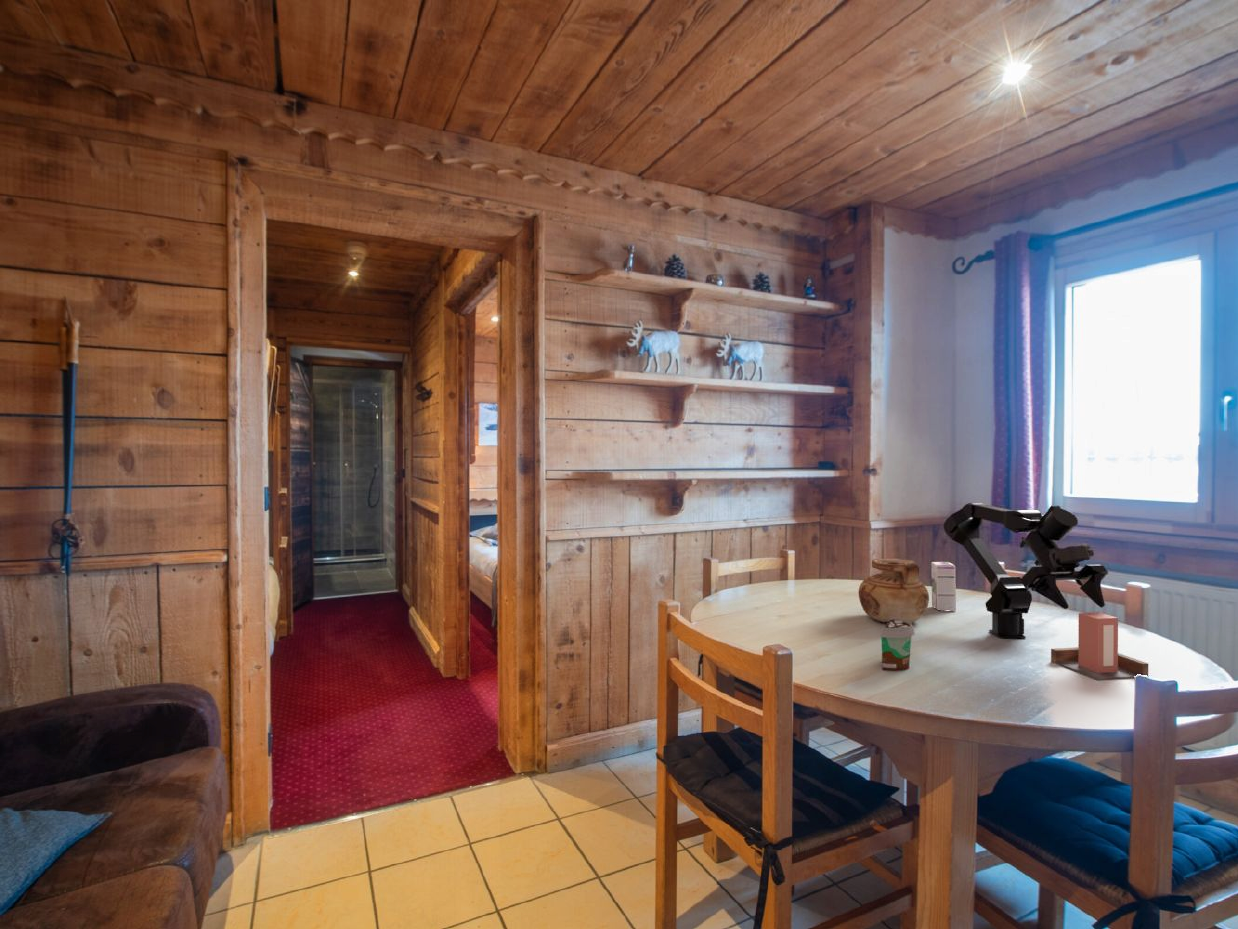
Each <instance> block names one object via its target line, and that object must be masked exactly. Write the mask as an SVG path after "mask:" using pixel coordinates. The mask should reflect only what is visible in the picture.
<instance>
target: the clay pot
mask: <svg viewBox="0 0 1238 929" xmlns="http://www.w3.org/2000/svg"><path fill="white" fill-rule="evenodd" d="M871 567H872V568H873V569H876V570H879V571H882V572H881V573H875V574H873V575H869V576H868V577H866V578H864V580H862V582H861V583H860V585H859V587H858V599H859V602H860V605H861V607H862V610H863V611H864V613H865V614H866V615H867V616H868V617H869V618H871V619H873V620H875V621H877V620H878V621H877V622H880V621H881V622H880V623H884V622H886V624H887V623H889V621H890V616H891V617H898V618H902V619H905V620H908V621H910V622H911V623H912V624H913V623H914V622H916V621H918V620H919V619H921V618H922V617H923V616H924V615H925V612H926V610H927V609H928V606H929V602H930V593H929V592H928V589H927V586H926V585H925V584H924V583H923V582H922V581H921V580H920V579H919V574H920V567H919V565H918V564H917V563H916V561H914V560H912V559H911V560H910V559H906V558H905V559H904V558H888V557H887V558H884V557H883V558H875V559H872V560H871Z"/></svg>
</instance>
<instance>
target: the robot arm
mask: <svg viewBox="0 0 1238 929" xmlns="http://www.w3.org/2000/svg"><path fill="white" fill-rule="evenodd" d="M983 521H989V522H992V523H995V524H1001V525H1002V526H1003V527H1004V528H1005V529H1006V530H1008V531H1010V532H1013V533H1015V534H1021V533H1022V534H1027V535H1026V536H1022V537H1021V541H1020V542H1019V547H1020V548H1021V549H1022V548H1023V549H1026V548H1027V549H1028V548H1029V550H1030V551H1031V553H1032V554H1033V556H1034V558H1035V559H1036V560H1035V561H1034V565H1035V566H1031V567H1030V568H1029V569H1028V570H1027V571H1026V572H1025V573H1024V574H1023V576H1010V575H1009V574H1008V573H1007V572H1006V570H1005V569H1004V567H1003V566H1002V565H1001V564H1000V563H999V561H998V560H997V558H996V557H995V556H994V555H993V553H992V552H991V551H990V548H989V547H987V545H986V544H985V542H984V541H983V540H982V538H981V529H980V527H981V526H982V525H983ZM1078 524H1079V521H1078V518H1077V516H1076V515H1075V514H1073V513H1071V512H1070V511H1068V510H1066V509H1064V508H1061V506H1060V505H1051V506H1050V507H1049V508H1048V509H1047V511H1046V512H1045V514H1042V512H1041V511H1039V510H1035V509H1034V510H1032V509H1031V510H1030V509H1029V510H1028V509H1027V510H1024V509H1023V510H1021V509H1019V510H1018V509H1017V510H1016V509H1015V510H1012V509H1007V508H1002V507H998V506H994V505H989V504H985V503H982V502H968V503H966V504H965V505H964V506H963V507H962V508H961V509H959V510H956V512H954V513H952V514H950V515H949V517H948V518H946V520H945V521H944V523H943V531H944V532H945V534H946V536H948V537H949V538H950V539H951V540H952V541H953V542H955V543H957V544H958V545H961V546H962V547H963V548H964V549H965V550H966V552H967V553H968V556H970V558H971V559H972V560H973V562H974V563H975V565H977V568H979V570H980V571H981V573H982V574H983V575H984V577H985V578H986V580H987V581H988V583H990V584H989V585H990V596H991V597H989V599H987V601H986V602H985V609H986V611H987V612H990V613H991V622H992V623H991V629H988V632H989V633H991V634H993V635H994V636H997V637H998V638H1001V639H1026V635H1024V634H1025V619H1024V618H1023V614H1025V615H1026V614H1028V613H1029V610H1030V607H1031V605H1032V602H1033V595H1032V593H1031V591H1032V592H1035V593H1037V594H1039V595H1041V596H1043V597H1045V598H1046V599H1047V600H1049V601H1051V602H1053V603H1054V604H1056V606H1057V605H1058V606H1059V607H1061V608H1062V609H1063V610H1067V609H1068V608H1069V607H1070V606H1069V604H1068V602H1067V600H1066V599H1065V597H1064V595H1063V593H1062V592H1061V590H1060V589H1059V586H1057V581H1074V582H1076V584H1077V585H1079V586H1080V587H1079V590H1081V591H1082V592H1083V593H1084V594H1085V595H1087V597H1088V598H1089V599H1091V601H1092V602H1093V603H1094V604H1096V605H1097V606H1098V607H1099V608H1104V607H1105V606H1106V604H1105V600H1104V595H1103V592H1102V586H1101V583H1102V581H1103V580H1104V578H1106V576H1107V575H1108V574H1109V571H1108V570H1107V568H1105V566H1104V565H1103V564H1102V565H1101V564H1098V563H1097V564H1085V565H1084V566H1083V567H1082V568H1081V569H1080V570H1076V569H1077V568H1079V567H1080V566H1081V564H1080V563H1081V562H1084V561H1086V560H1087V561H1089V560H1091V558H1092V557H1094V555H1095V553H1094V549H1093V548H1092V547H1091V545H1089V544H1088V543H1080V544H1078V545H1072V546H1071V545H1070V546H1065V547H1063V548H1061V547H1060V546H1059V544H1058V542H1059V541H1063V540H1064V539H1065V538H1066V536H1067V535H1068V534H1069V533H1070V532H1071V531H1073V529H1074V528H1075V527H1077V526H1078ZM1057 541H1058V542H1057ZM1030 590H1031V591H1030Z"/></svg>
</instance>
